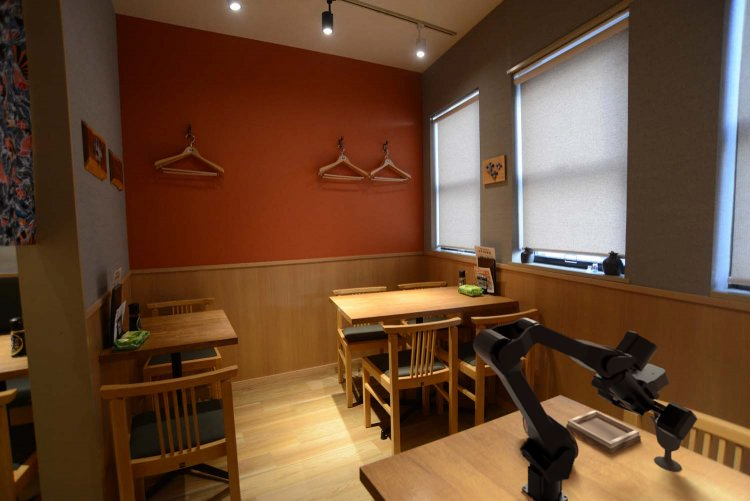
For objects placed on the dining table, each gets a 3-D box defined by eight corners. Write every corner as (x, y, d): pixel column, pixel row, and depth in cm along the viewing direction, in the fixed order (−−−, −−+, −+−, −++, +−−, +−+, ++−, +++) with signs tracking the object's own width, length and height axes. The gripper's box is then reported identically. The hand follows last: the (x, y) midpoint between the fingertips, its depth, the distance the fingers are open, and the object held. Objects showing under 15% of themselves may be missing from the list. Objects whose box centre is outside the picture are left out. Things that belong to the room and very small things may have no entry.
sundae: (694, 475, 77) (696, 410, 76) (659, 472, 78) (661, 408, 77) (675, 456, 83) (677, 396, 82) (643, 453, 85) (645, 394, 84)
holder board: (610, 454, 85) (610, 444, 85) (566, 428, 96) (566, 420, 96) (640, 440, 90) (640, 431, 90) (595, 417, 101) (595, 409, 101)
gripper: (691, 373, 68) (730, 417, 71) (607, 342, 86) (641, 378, 90) (659, 418, 67) (700, 461, 70) (580, 378, 85) (616, 413, 88)
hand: (661, 423), depth 80 cm, fingers open, 9 cm apart
